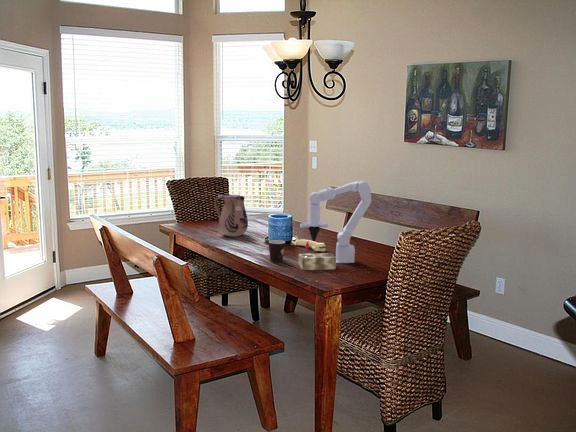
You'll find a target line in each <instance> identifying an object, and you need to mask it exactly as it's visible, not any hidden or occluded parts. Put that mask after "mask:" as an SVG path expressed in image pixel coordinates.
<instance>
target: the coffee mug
mask: <svg viewBox="0 0 576 432" xmlns="http://www.w3.org/2000/svg"><path fill="white" fill-rule="evenodd" d="M285 244H286V241H285V240H279V239H274V240H273V239H272V240H269V241H268V249H269V250H268V251H269V261H270V262H272V261H273V263H281V261H282V262H283V259H284V253H285V246H286V245H285Z"/></svg>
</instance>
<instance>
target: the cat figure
mask: <svg viewBox="0 0 576 432" xmlns="http://www.w3.org/2000/svg"><path fill="white" fill-rule="evenodd" d="M298 236H299V233H298V232H297V231H296V232H295V233H294V235H293V237H294V239H295V241H294V240H291V242H290V245H291V246H304V247H305V250H307V251H309V247H310V248H312V250H313V251H314V252H321V253H326V252H325V251H327V249H326V248H327V245H325V243H324V242H318V241H317V239H316V240H315V241H312V239H311V240H310V239H301V238H300V239H299V237H298Z"/></svg>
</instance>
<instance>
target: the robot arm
mask: <svg viewBox="0 0 576 432" xmlns="http://www.w3.org/2000/svg"><path fill="white" fill-rule="evenodd" d="M350 191H351V192H354V193H357V192H358V194H359V196H360V199H361V200H360V201H359V203H358V205H357V206H356V208H355V210H354V212H353V213H352V215H351V216H350V218H349V219H348V222H347V223H346V225H345V226H344V227H343V228H342V230H340V231H339V232H338V233H337V235H336V238H337V242H336V246H335V257H336V264H351V263H352V264H354V263H356V261H355V255H356V253H355V251H356V249H355V245H354V244H351V243H350V241H351V237H352V236H353V232H354V231H355V229H356V227H358V225H359V222H360V221H361V219H362V218H363V216H364V214H365V213H366V212H367V210H368V208H369V207H370V205H371V203H372V189H371V187H370V185H369V183H368V182H367V181H366V180H364V179H361V180H357V181H352V182H349V183H347V184H344V185H342V186H341V185H340V186H339V187H336V188H333V187H328V186H327V187H325V189H322V190H317V192H316V191H313V192H311V193H310V195H309V210H308V222H305V223H299V228H308V231H309V233H310V236H311V241H315V240H316V241H317V236H318V234H319V232H320V231H321V228H329V223H326V222H321V202H325V201H329V200H332V199H335V197H336V195H339V194H343V193H346V192H347V193H348V192H350ZM316 241H315V242H316Z"/></svg>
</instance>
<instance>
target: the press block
mask: <svg viewBox="0 0 576 432" xmlns="http://www.w3.org/2000/svg"><path fill="white" fill-rule="evenodd" d="M304 255H311V256H312V257H304ZM322 255H331V257H323V256H322ZM298 266H300V267H301V268H300V267H299V268H300V269H301V270H302V271H316V270H319V271H321V270H323V271H324V270H336V268H337V262H336V255H334V254H333V253H331V252H328V253H327V252H321V253H298Z"/></svg>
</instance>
